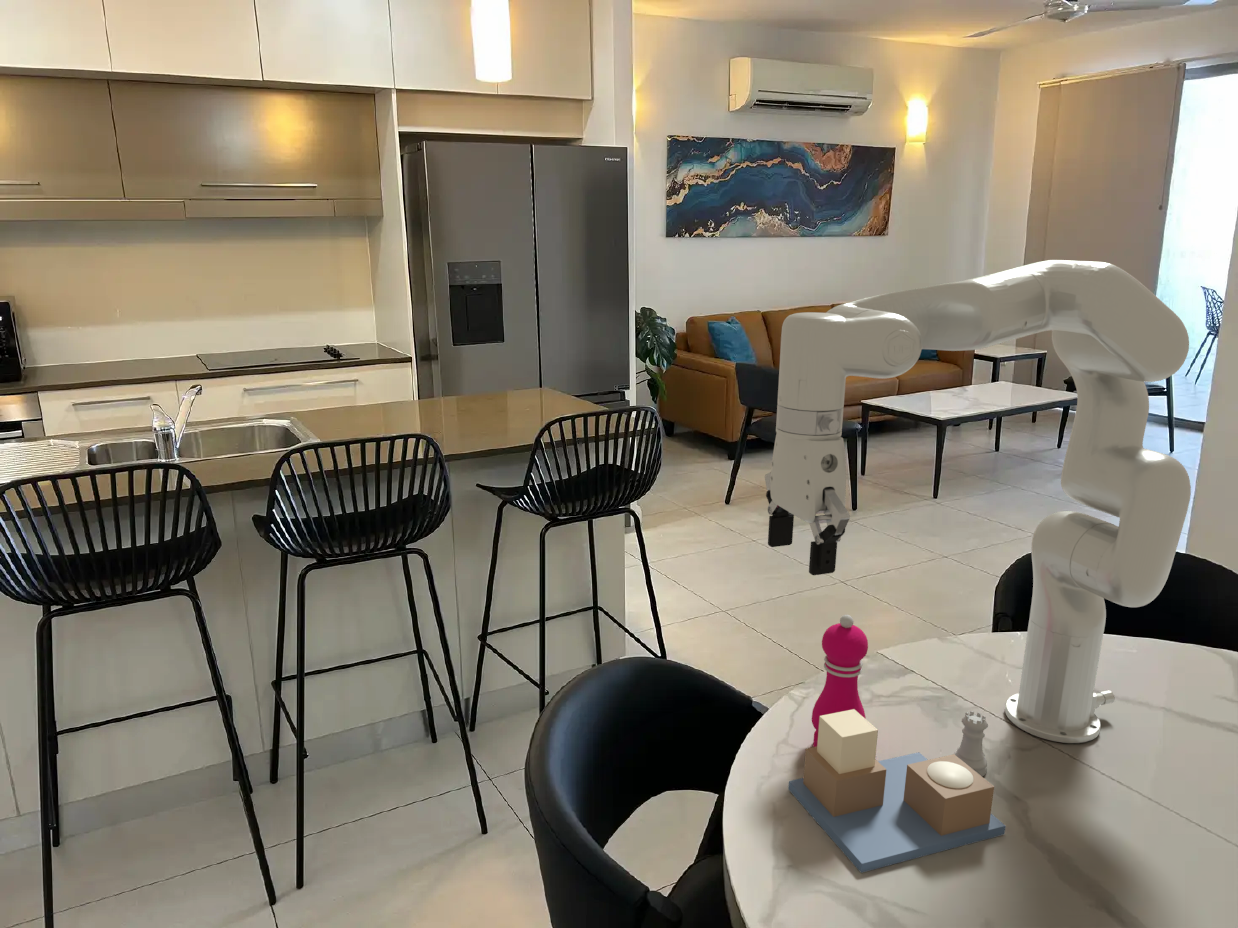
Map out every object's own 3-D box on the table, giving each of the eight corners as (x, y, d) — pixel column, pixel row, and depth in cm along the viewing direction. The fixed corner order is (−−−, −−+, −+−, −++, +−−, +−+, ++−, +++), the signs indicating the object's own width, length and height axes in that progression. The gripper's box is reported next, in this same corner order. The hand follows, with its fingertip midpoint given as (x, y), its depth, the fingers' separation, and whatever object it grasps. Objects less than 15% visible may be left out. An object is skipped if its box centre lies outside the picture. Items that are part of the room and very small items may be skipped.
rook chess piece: (989, 781, 115) (997, 727, 113) (953, 777, 116) (960, 723, 114) (983, 762, 119) (990, 709, 117) (948, 757, 120) (954, 705, 118)
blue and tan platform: (918, 759, 119) (926, 685, 116) (1004, 834, 105) (1016, 751, 102) (788, 788, 113) (793, 711, 110) (860, 872, 98) (869, 785, 95)
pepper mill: (830, 768, 117) (841, 631, 112) (799, 740, 124) (808, 609, 119) (874, 756, 120) (887, 621, 115) (841, 729, 127) (852, 600, 121)
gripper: (881, 434, 96) (868, 581, 100) (799, 405, 111) (790, 532, 116) (821, 439, 93) (810, 589, 98) (745, 408, 109) (739, 538, 113)
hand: (799, 558), depth 107 cm, fingers open, 9 cm apart
